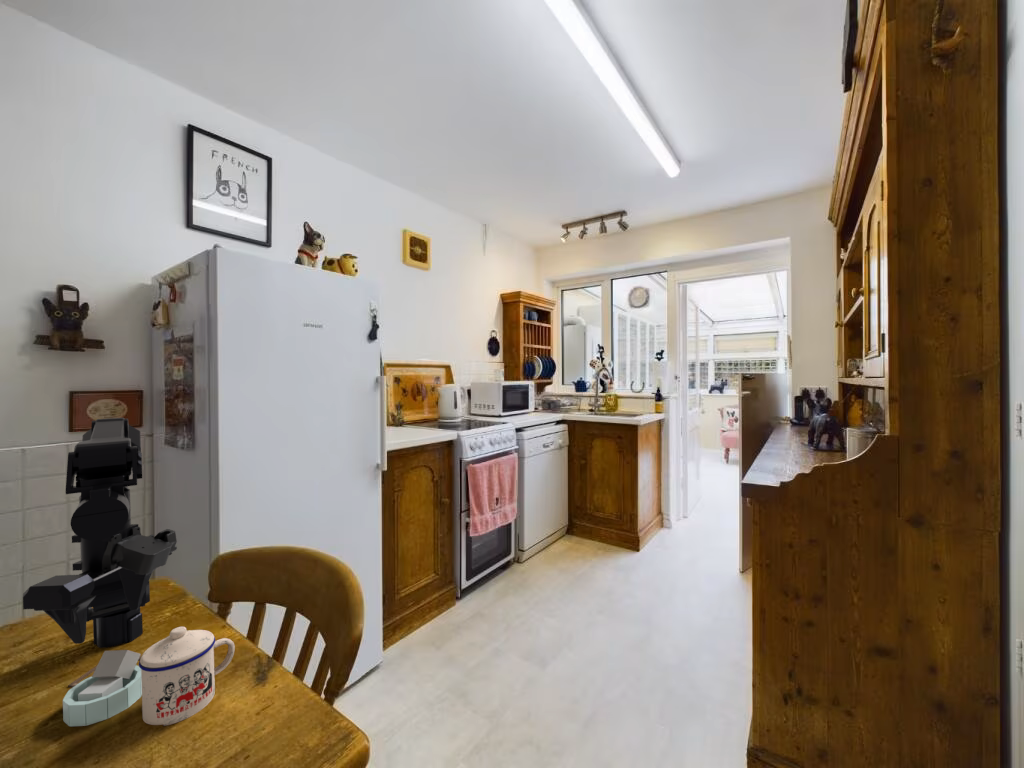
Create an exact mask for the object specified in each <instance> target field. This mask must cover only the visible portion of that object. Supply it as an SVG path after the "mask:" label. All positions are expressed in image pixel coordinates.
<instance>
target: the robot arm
mask: <svg viewBox="0 0 1024 768" xmlns="http://www.w3.org/2000/svg"><path fill="white" fill-rule="evenodd" d="M66 465H67V466H66V477H65V478H66V480H65V495H73V494H80V496H79V497H78V503H79V504H78V505H77V506H76V508H75V510H74V511H73V514H72V516H71V518H70V527H71V531H72V532H73V533H74V535H72V536H71V543H72V544H75V543H79V545H80V548H79V549H80V551H79V552H80V560H79V561H76V562H73V563H72V571H73V572H74V571H81V573H79V574H64V575H53V576H52V577H49V578H47V579H45V580H42V581H40V582H37V583H35V584H32V585H30V586H29V587H28V588H27V589H26V590H25V591H24V592H23V594H22V610H33V611H34V612H38V611H39V612H40V611H42V612H44V613H45V614H46V615H48V616H49V617H50V618H51V619H52V620H53V621H54V622H55V623H56V624H57V625H58V626H59V627H60V628H61V630H62V631H63V632H64V633H65V634H66V636H67V637H68V638H69V639H70V640H71V641H72V642H73V643H74V644H75V645H77V644H79V645H80V644H83V643H84V642H85V641H86V635H87V634H86V633H87V623H88V622H90V621H92V625H93V626H92V627H93V629H92V630H93V631H92V632H93V637H92V638H93V645H94V646H95V645H97V647H98V648H100V649H101V648H102V649H107V648H112V647H116V646H119V645H122V644H128V643H131V642H133V641H135V640H136V639H137V638H139V637H140V636H142V635H143V633H144V632H143V631H144V630H143V629H144V627H143V625H144V624H143V613H142V612H141V607H142V608H143V607H146V604H147V603H149V602H151V600H150V599H151V598H150V596H151V595H150V594H151V593H150V592H151V591H150V579H151V576H152V574H153V572H154V571H155V570H156V569H157V568H160V567H163V566H165V565H166V564H167V561H168V558H169V556H171V555H172V554H173V552H175V551H177V549H178V547H177V545H176V544H177V542H178V541H177V540H178V539H177V535H176V531H175V530H172V529H168V528H166V529H164V530H162V531H159V532H158V533H156V534H155V535H154V534H150V535H147V536H145V535H142V533H141V526H139V524H138V523H135V524H134V523H133V524H132V517H131V516H132V513H131V508H132V507H131V489H129V487H134V486H138V480H140V479H143V454H142V441H141V431H140V430H139V429H137V428H135V427H133V426H131V425H130V424H129V418H124V417H112V418H111V417H110V418H97V419H96V420H91V428H90V429H89V430H87V431H86V432H85V433H84V434H82V439H81V440H80V441H79V442H77V443H76V444H75V446H74V450H73V451H69V452H68V453H67V463H66ZM131 476H132V478H130V477H131ZM74 484H75V485H74Z"/></svg>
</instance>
